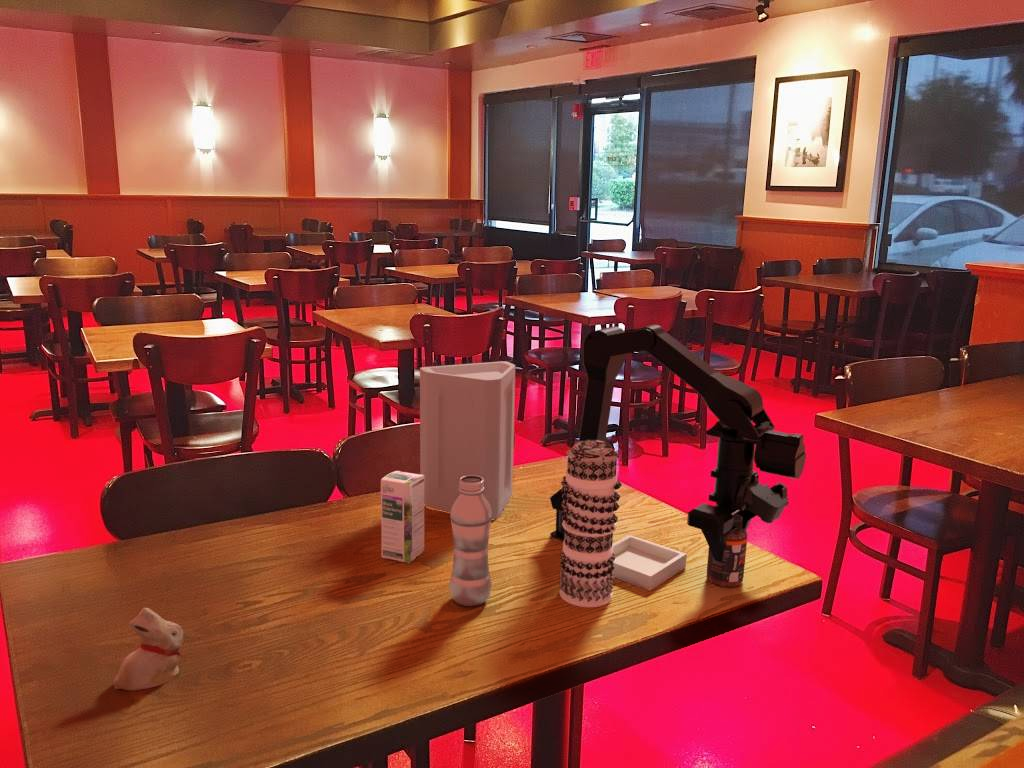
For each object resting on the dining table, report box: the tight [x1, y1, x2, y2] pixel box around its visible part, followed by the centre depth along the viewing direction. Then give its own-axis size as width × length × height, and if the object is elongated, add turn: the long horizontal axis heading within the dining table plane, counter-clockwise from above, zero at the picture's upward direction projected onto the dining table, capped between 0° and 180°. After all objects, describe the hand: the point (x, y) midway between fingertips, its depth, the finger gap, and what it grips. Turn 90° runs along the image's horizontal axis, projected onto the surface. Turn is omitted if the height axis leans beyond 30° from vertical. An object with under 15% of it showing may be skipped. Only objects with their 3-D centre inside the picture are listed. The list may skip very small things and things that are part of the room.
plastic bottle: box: [449, 475, 492, 607], centre depth 125 cm, size 6×7×20 cm
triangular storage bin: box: [419, 360, 516, 521], centre depth 162 cm, size 19×15×28 cm
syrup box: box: [380, 470, 425, 564], centre depth 141 cm, size 6×6×14 cm
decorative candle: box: [559, 440, 623, 608], centre depth 128 cm, size 9×9×25 cm
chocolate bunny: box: [113, 607, 184, 692], centre depth 105 cm, size 6×8×10 cm
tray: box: [612, 534, 687, 591], centre depth 140 cm, size 12×12×2 cm
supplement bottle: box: [706, 514, 748, 588], centre depth 135 cm, size 6×6×11 cm
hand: (726, 554), depth 135 cm, fingers closed on supplement bottle, 6 cm apart
